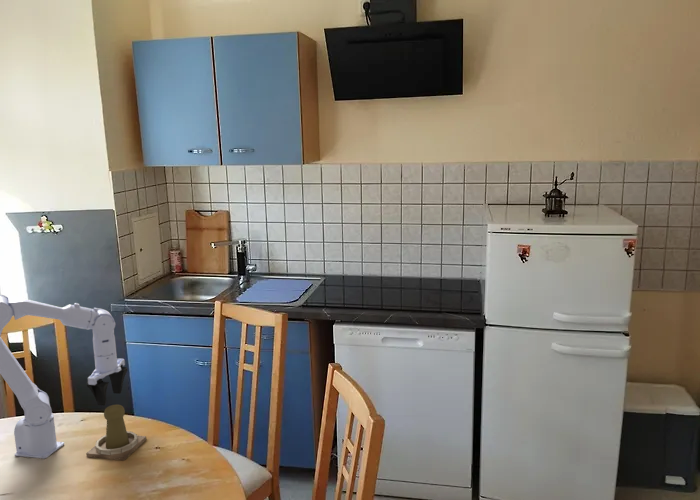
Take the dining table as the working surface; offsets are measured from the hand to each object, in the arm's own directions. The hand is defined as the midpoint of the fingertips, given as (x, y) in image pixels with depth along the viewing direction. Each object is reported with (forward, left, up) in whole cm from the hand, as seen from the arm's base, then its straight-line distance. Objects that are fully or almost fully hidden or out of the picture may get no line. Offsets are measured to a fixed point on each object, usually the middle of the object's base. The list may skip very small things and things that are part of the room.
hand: (109, 398), depth 168 cm
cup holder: (+6, -8, -10) cm, 14 cm away
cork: (+6, -8, -10) cm, 14 cm away
